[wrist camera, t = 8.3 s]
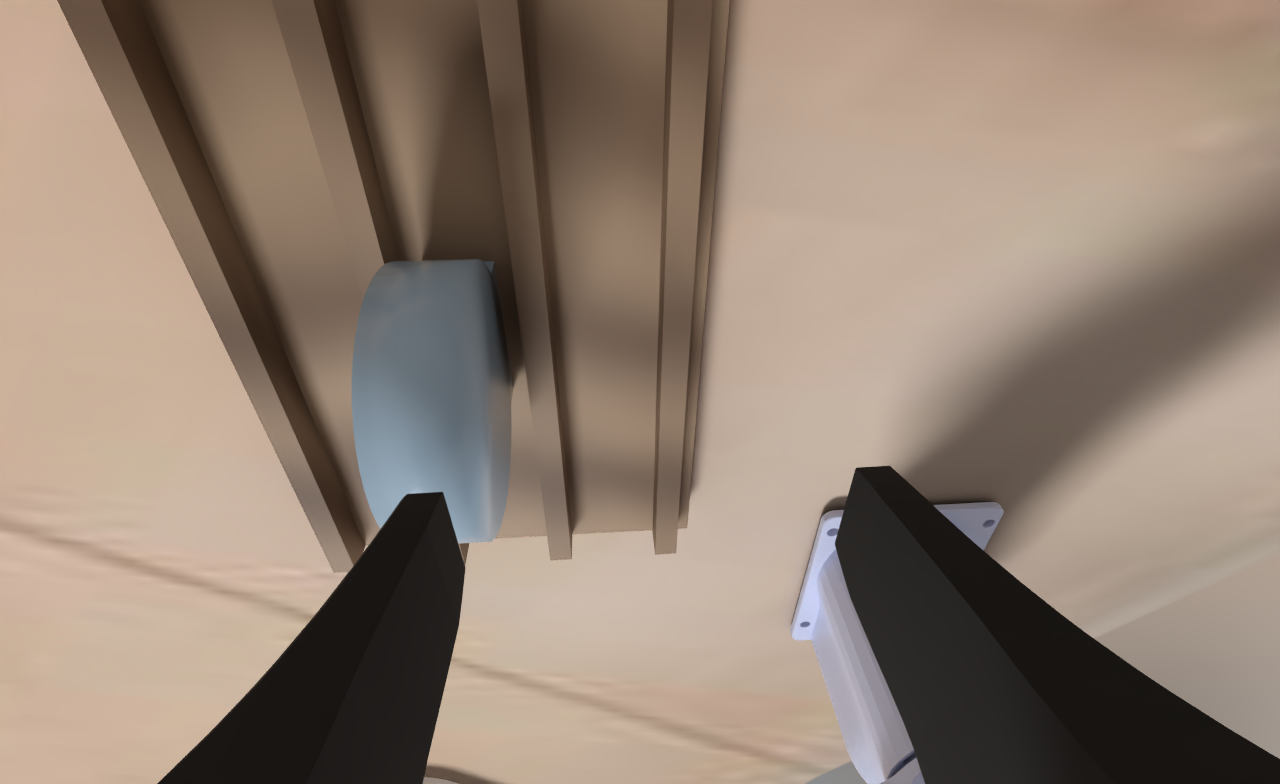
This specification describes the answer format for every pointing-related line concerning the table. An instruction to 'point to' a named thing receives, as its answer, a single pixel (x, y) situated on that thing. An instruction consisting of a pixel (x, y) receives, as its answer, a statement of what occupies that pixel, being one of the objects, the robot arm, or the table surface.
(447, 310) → the blue-grey thick rounded disc
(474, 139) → the rack
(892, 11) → the table surface
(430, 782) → the computer
